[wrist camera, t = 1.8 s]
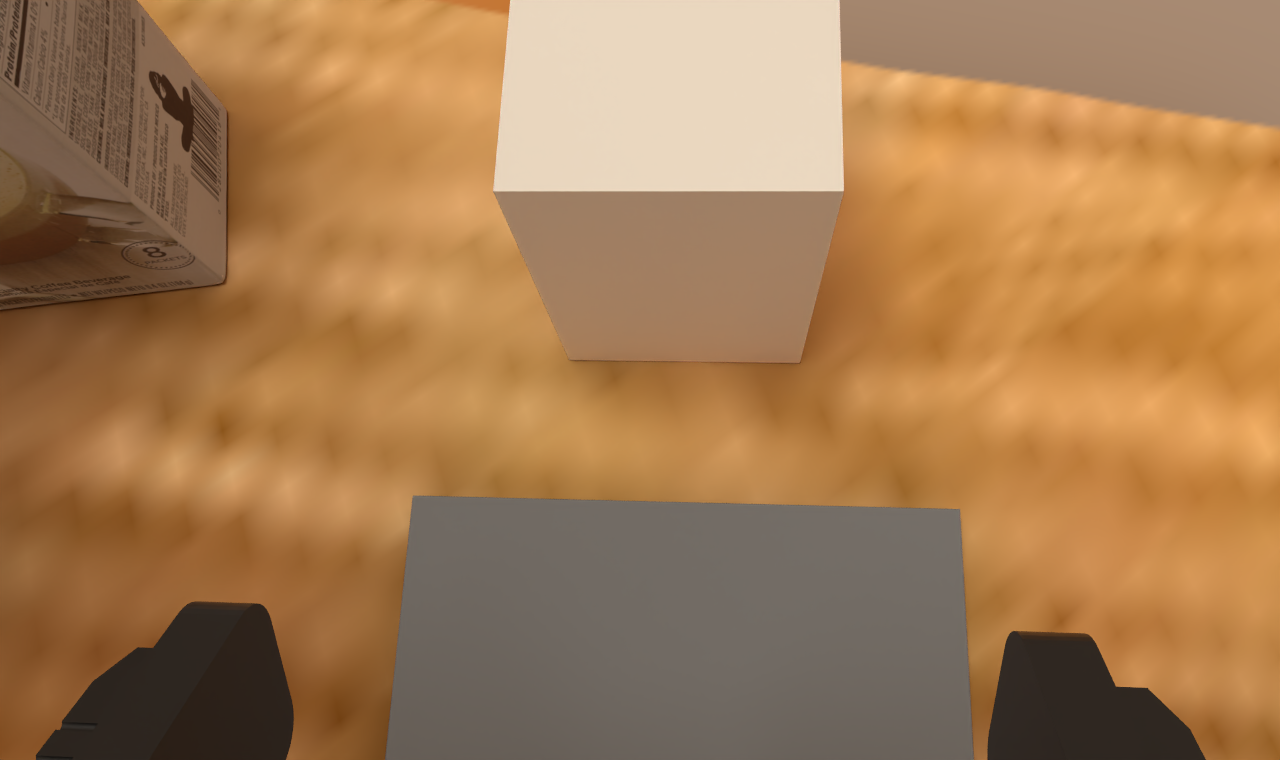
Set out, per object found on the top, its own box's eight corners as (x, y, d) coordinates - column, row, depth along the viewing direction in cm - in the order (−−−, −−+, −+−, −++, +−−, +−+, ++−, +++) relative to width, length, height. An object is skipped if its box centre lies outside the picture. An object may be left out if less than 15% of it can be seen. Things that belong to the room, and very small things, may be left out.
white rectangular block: (799, 363, 28) (843, 191, 18) (568, 360, 28) (492, 191, 19) (798, 155, 29) (837, -100, 20) (581, 156, 30) (518, -93, 20)
